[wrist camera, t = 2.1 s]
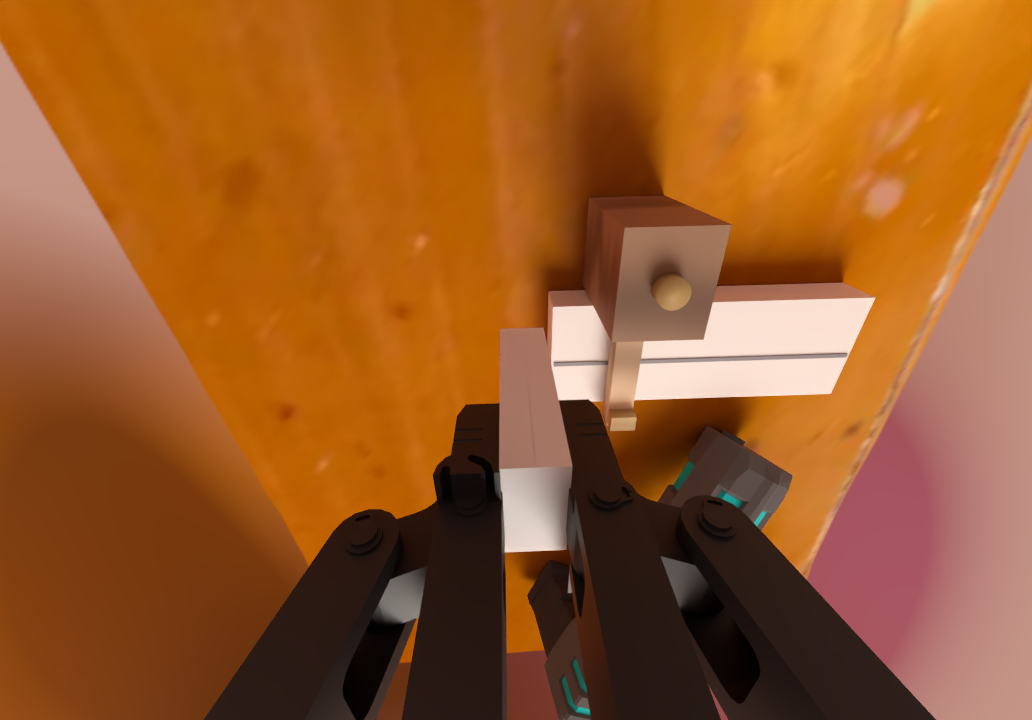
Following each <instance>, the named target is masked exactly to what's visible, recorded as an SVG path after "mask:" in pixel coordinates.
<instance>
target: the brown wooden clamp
mask: <svg viewBox="0 0 1032 720" xmlns="http://www.w3.org/2000/svg"><path fill="white" fill-rule="evenodd" d="M731 226H732V225H731V224H729V223H726V222H724V221H722V220H719V219H717V218H715V217H713V216H710V215H708V214H706V213H703V212H701V211H699V210H696V209H694V208H692V207H690V206H687V205H685V204H683V203H680V202H678V201H676V200H674V199H671V198H669V197H667V196H664V195H663V196H623V197H589V199H588V214H587V229H586V243H585V258H584V272H583V286H584V288H585V290H586V292H587V294H588V296H589V298H590V300H591V302H592V304H593V306H594V308H595V310H596V312H597V314H598V316H599V318H600V320H601V322H602V324H603V326H604V328H605V330H606V332H607V334H608V336H609V338H610V340H611V344H610V352H609V361H608V370H607V379H606V387H605V396H604V405H603V417H604V420H605V423H606V425H608V427H609V430H610V431H630V430H635V425H636V419H637V417H636V414H635V412H634V410H633V405H634V399H635V393H636V386H637V380H638V374H639V368H640V362H641V355H642V349H643V343H644V341H672V340H704V336H705V332H706V328H707V324H708V320H709V315H710V311H711V307H712V303H713V299H714V295H715V291H716V287H717V283H718V279H719V275H720V271H721V267H722V263H723V259H724V255H725V251H726V247H727V243H728V238H729V234H730V230H731Z"/></svg>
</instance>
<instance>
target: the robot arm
mask: <svg viewBox="0 0 1032 720" xmlns="http://www.w3.org/2000/svg"><path fill="white" fill-rule="evenodd" d="M433 479H434V485H435V491H436V496H437V501H436V502H435V503H434V504H432V505H431V506H429V507H428V508H426V509H424V510H422V511H420V512H417V513H415V514H412V515H408V516H405V517H402V518H399V519H396V518H395V517H394V516H393V515H392V514H391V513H389V512H386V511H384V510H381V509H368V510H365V511H362V512H359V513H355V514H354V515H352V516H351V517H349V518H347V519H346V520H344V521H343V522H342V523H341V524H340V525H339V526H338V527H337V528H336V529H335V530H334V531H333V533H332V534H331V536H330V537H329V539H328V540H327V541H326V543H325V544H324V546H323V547H322V549H321V550H320V552H319V553H318V555H317V556H316V557H315V559H314V560H313V562H312V563H311V565H310V566H309V568H308V569H307V571H306V572H305V574H304V575H303V577H302V578H301V579H300V581H299V582H298V584H297V585H296V587H295V588H294V589H293V591H292V592H291V594H290V595H289V597H288V598H287V600H286V601H285V603H284V604H283V605H282V607H281V608H280V610H279V611H278V613H277V614H276V616H275V617H274V619H273V620H272V621H271V623H270V624H269V626H268V627H267V629H266V630H265V632H264V633H263V635H262V636H261V637H260V639H259V640H258V642H257V643H256V645H255V646H254V648H253V649H252V651H251V652H250V653H249V655H248V656H247V658H246V659H245V661H244V662H243V664H242V665H241V666H240V668H239V670H238V671H237V672H236V674H235V675H234V677H233V678H232V680H231V681H230V683H229V684H228V685H227V687H226V688H225V690H224V691H223V693H222V694H221V696H220V697H219V698H218V700H217V702H216V703H215V704H214V706H213V707H212V709H211V710H210V712H209V713H208V714H207V716H206V717H205V719H204V720H376V719H377V716H378V713H379V711H380V709H381V706H382V704H383V701H384V699H385V696H386V694H387V691H388V688H389V686H390V684H391V681H392V678H393V676H394V673H395V671H396V668H397V666H398V663H399V661H400V658H401V656H402V653H403V651H404V648H405V646H406V643H407V641H408V638H409V636H410V633H411V631H412V628H413V626H414V623H415V621H416V618H418V617H419V620H418V626H417V632H416V638H415V644H414V650H413V656H412V662H411V668H410V674H409V680H408V686H407V692H406V699H405V705H404V711H403V716H402V720H507V656H506V655H507V650H506V574H505V552H528V551H553V550H567V541H568V547H569V553H570V568H569V580H568V593H572V595H573V602H574V609H575V616H576V622H577V629H578V636H579V642H580V649H581V656H582V663H583V669H584V676H585V683H586V689H587V696H588V703H589V710H590V716H591V720H721V719H720V716H719V714H718V711H717V708H716V706H715V703H714V700H713V697H712V695H711V692H710V689H709V686H710V688H711V690H712V692H713V693H714V695H715V697H716V699H717V700H718V702H719V704H720V706H721V707H722V709H723V711H724V712H725V714H726V716H727V718H728V720H936V719H935V718H934V717H933V716H932V715H931V714H930V713H929V712H928V711H927V710H926V708H925V707H924V706H923V705H922V704H921V703H920V702H919V701H918V700H917V699H916V698H915V697H914V696H913V694H912V693H911V692H910V691H909V690H908V689H907V688H906V687H905V686H904V685H903V684H902V683H901V681H900V680H899V679H898V678H897V677H896V676H895V675H894V674H893V673H892V672H891V671H890V670H889V669H888V667H887V666H886V665H885V664H884V663H883V662H882V661H881V660H880V659H879V658H878V657H877V656H876V655H875V653H874V652H873V651H872V650H871V649H870V648H869V647H868V646H867V645H866V644H865V643H864V642H863V641H862V639H861V638H860V637H859V636H858V635H857V634H856V633H855V632H854V631H853V630H852V629H851V628H850V626H849V625H848V624H846V622H845V621H844V620H843V619H842V618H841V617H840V616H839V615H838V614H837V613H836V612H835V610H834V609H833V608H832V607H831V606H830V605H829V604H828V603H827V602H826V601H825V600H824V599H823V597H822V596H821V595H820V594H819V593H818V592H817V591H816V590H815V589H814V588H813V587H812V586H811V584H810V583H809V582H808V581H807V580H806V579H805V578H804V577H803V576H802V575H801V574H800V573H799V571H798V570H797V569H796V568H795V567H794V566H793V565H792V564H791V563H790V562H789V561H788V560H787V559H786V557H785V556H784V555H783V554H782V553H781V552H780V551H779V550H778V549H777V548H776V547H775V546H774V545H773V543H772V542H771V541H770V540H769V539H768V538H767V537H766V536H765V535H764V534H763V533H762V532H761V531H760V529H759V528H758V527H757V526H756V525H755V524H754V523H753V522H752V521H751V520H750V519H749V518H748V516H747V515H746V514H745V513H743V512H742V511H741V510H740V509H739V508H737V507H736V506H735V505H734V504H732V503H730V502H728V501H726V500H723V499H721V498H718V497H714V496H709V495H701V496H694V497H692V498H690V499H688V500H686V501H685V503H684V504H683V506H682V507H681V508H680V507H676V506H671V505H667V504H663V503H658V502H655V501H652V500H649V499H646V498H645V497H643V496H641V495H639V494H637V493H636V491H635V490H634V488H633V486H631V485H630V484H629V483H628V482H626V481H625V480H624V478H623V476H622V474H621V471H620V468H619V465H618V462H617V459H616V456H615V454H614V451H613V448H612V445H611V442H610V439H609V436H608V435H607V431H606V428H605V425H604V422H603V419H602V416H601V413H600V410H599V409H598V408H597V407H596V406H595V405H594V404H593V403H592V402H591V401H590V400H589V399H583V400H559V399H558V395H557V390H556V385H555V380H554V375H553V371H552V366H551V361H550V356H549V352H548V347H547V342H546V337H545V332H544V328H543V327H542V328H509V329H500V404H470V405H465V407H464V408H463V409H462V411H461V412H460V413H459V414H458V416H457V421H456V427H455V434H454V443H453V447H452V453H451V455H450V456H448V457H446V458H445V459H444V460H443V461H442V462H441V463H439V464H438V465H437V467H436V469H435V472H434V474H433ZM707 683H708V684H707ZM708 685H709V686H708Z"/></svg>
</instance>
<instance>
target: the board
mask: <svg viewBox="0 0 1032 720" xmlns="http://www.w3.org/2000/svg"><path fill="white" fill-rule="evenodd" d="M874 300H875V297H873V296H871V295H869V294H867V293H865V292H862V291H860V290H858V289H856V288H854V287H852V286H849V285H847V284H845V283H810V284H775V285H740V286H717V287H716V291H715V295H714V299H713V303H712V307H711V311H710V315H709V320H708V324H707V328H706V332H705V336H704V340H672V341H644V343H643V349H642V355H641V362H640V368H639V374H638V380H637V386H636V393H635V399H634V400H656V399H686V398H717V397H747V396H777V395H808V394H831V392H832V390H833V388H834V386H835V383H836V381H837V379H838V377H839V375H840V373H841V371H842V368H843V366H844V364H845V362H846V360H847V358H848V355H849V353H850V351H851V349H852V347H853V345H854V343H855V340H856V338H857V336H858V334H859V332H860V330H861V328H862V325H863V323H864V321H865V319H866V317H867V315H868V312H869V310H870V308H871V306H872V304H873V302H874ZM610 344H611V340H610V338H609V336H608V334H607V332H606V330H605V328H604V326H603V324H602V322H601V320H600V318H599V316H598V314H597V312H596V310H595V308H594V306H593V304H592V302H591V300H590V298H589V296H588V294H587V292H586V290H564V291H548V333H547V347H548V352H549V356H550V361H551V366H552V371H553V375H554V380H555V385H556V390H557V395H558V399H559V400H583V399H589V400H590V401H591V402H595V401H604V396H605V387H606V379H607V370H608V361H609V352H610Z"/></svg>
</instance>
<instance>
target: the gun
mask: <svg viewBox="0 0 1032 720" xmlns="http://www.w3.org/2000/svg"><path fill="white" fill-rule="evenodd" d="M744 443H745V441H743V440H742V439H740V438H738V437H736V436H735V435H733V434H731V433H729V432H728V431H726V430H723V431H722V433H720V432H718V431H717V430H715V429H713V428H711V427H709V426H707V427H706V428H705V430H704V431H703V433H702V434H701V436H700V437H699V439H698V440H697V442H696V444H695V445H694V447H693V448H692V450H691V451H690V453H689V454H688V458H689V462H688V463H687V465H686V466H685V468H684V469H683V471H682V472H681V474H680V475H679V477H678V479H677V480H676V482H675V483H674V485H668V487H667V488H666V490H665V491H664V493H663V494H662V496H661V498H660V499H659V501H658V503H663V504H667V505H671V506H676V507H680V508H681V507H682V506H683V504H684V503H685V501H686V500H688V499H690V498H692V497H694V496H701V495H709V496H714V497H718V498H721V499H723V500H726V501H728V502H730V503H732V504H734V505H735V506H736V507H737V508H739V509H740V510H741V511H742V512H743V513H745V514H746V515H747V516H748V518H749V519H750V520H751V521H752V522H753V523H754V524H755V525H756V526H757V527H758V528H759V529H760V531H761V530H762V528H763V527H764V526H765V524H766V523H767V521H768V520H769V518H770V517H771V515H772V514H773V513H774V512H775V511H776V510H777V508H778V507H779V505H780V504H781V502H782V501H783V499H784V497H785V495H786V493H787V491H788V489H789V486H790V483H791V479H792V475H791V474H789V473H788V472H786V471H784V470H783V469H781V468H779V467H778V466H776V465H775V464H773V463H771V462H770V461H768V460H767V459H765V458H763V457H762V456H760V455H758V454H757V453H755V452H753V451H752V450H750V449H748V448H747V447H745V446H743V445H744ZM569 568H570V567H568V566H565V565H562V564H559V563H556V562H554V561H551V560H550V561H549V562H548V563H547V564H546V566H545V567H544V569H543V570H542V572H541V574H540V575H539V577H538V579H537V580H536V582H535V583H534V585H533V587H532V588H531V590H530V592H529V593H528V595H527V596H528V600H529V603H530V605H531V607H532V609H533V611H534V614H535V617H536V621H537V624H538V628H539V631H540V635H541V639H542V642H543V646H544V649H545V653H546V656H547V661H546V663H545V669H546V673H547V677H548V680H549V684H550V688H551V692H552V696H553V699H554V703H555V707H556V711H557V714H558V718H559V720H591V716H590V710H589V703H588V696H587V689H586V683H585V676H584V669H583V663H582V656H581V649H580V642H579V636H578V629H577V622H576V616H575V609H574V602H573V595H572V593H568V580H569Z"/></svg>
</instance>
